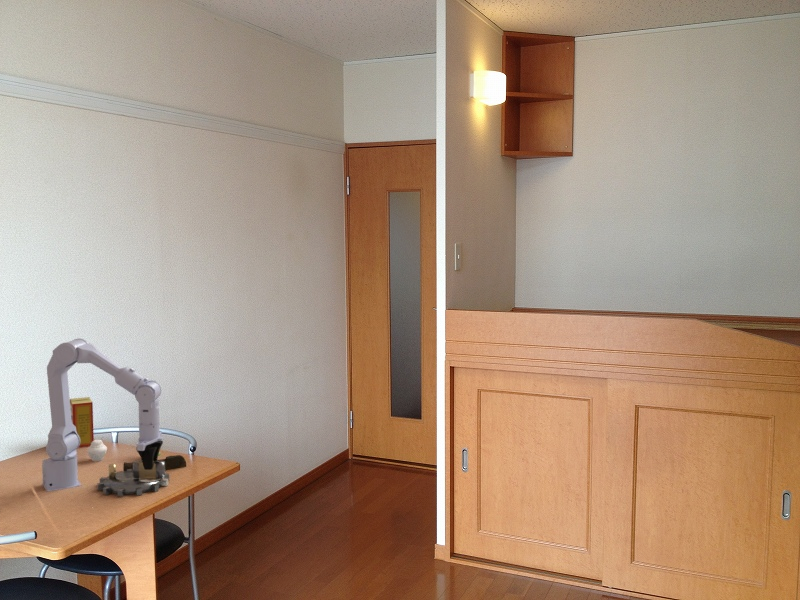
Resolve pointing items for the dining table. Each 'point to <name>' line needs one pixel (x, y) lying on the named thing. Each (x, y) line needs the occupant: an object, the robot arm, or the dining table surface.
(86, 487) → the dining table surface
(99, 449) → the white ribbed jar
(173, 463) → the dark brown rough bar
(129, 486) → the sprocket
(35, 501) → the dining table surface
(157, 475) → the cartridge fuse
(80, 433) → the baking soda box
